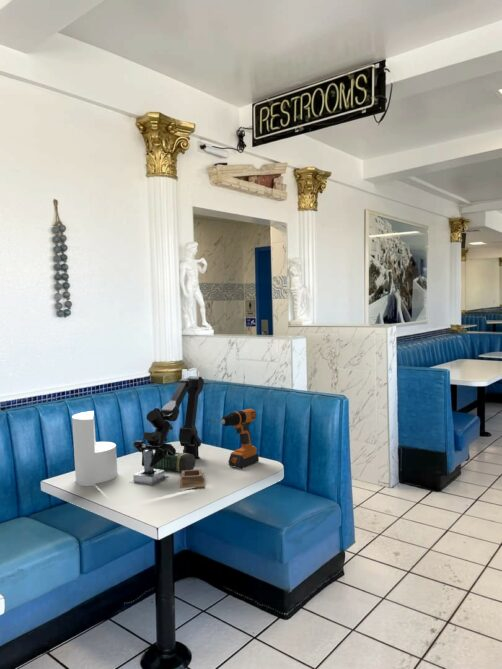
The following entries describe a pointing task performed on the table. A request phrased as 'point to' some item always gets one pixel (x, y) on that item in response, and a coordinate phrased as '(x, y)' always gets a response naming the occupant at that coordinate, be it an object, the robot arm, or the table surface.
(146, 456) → the metal rod
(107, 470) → the stepped white column
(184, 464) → the coffee jar
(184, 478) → the wooden tray
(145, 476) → the socket stand
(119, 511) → the table surface
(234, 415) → the power drill
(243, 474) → the table surface
